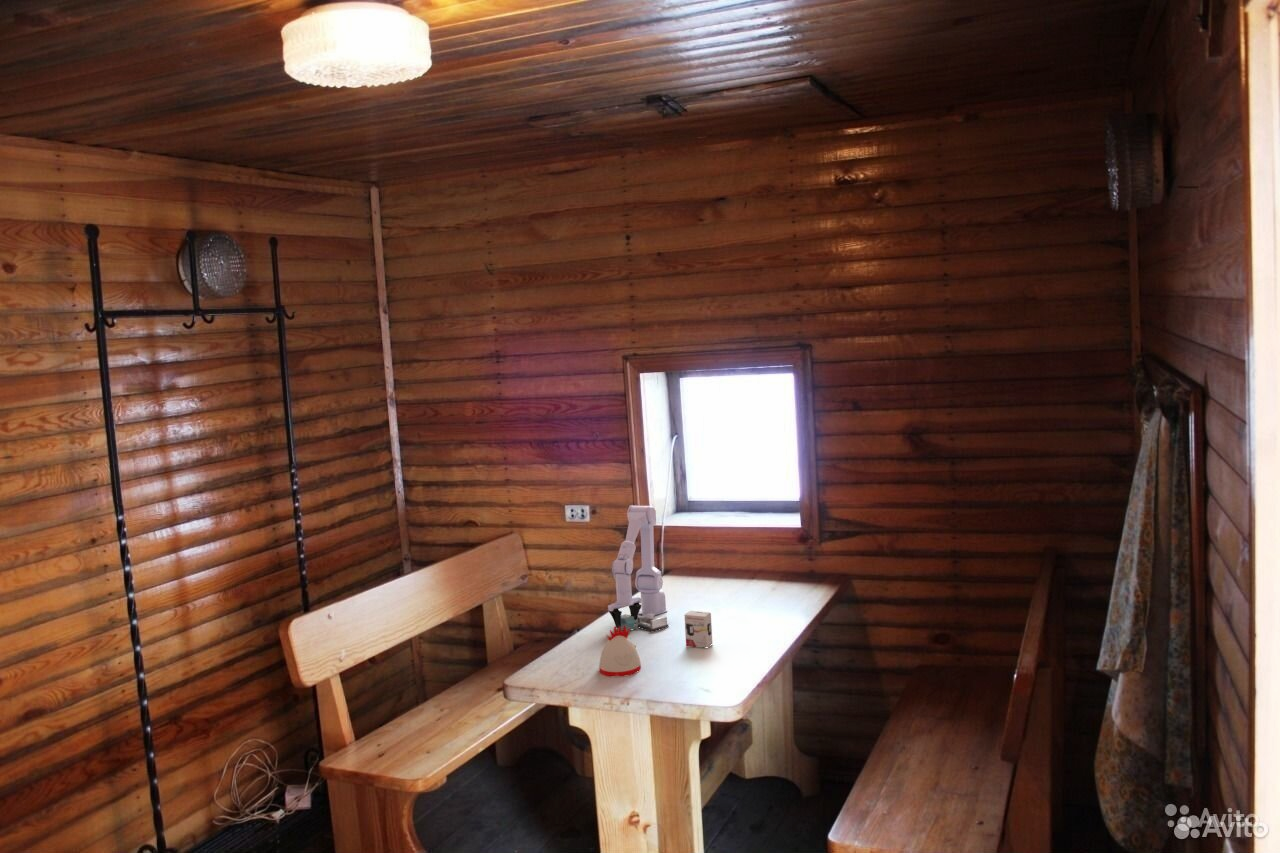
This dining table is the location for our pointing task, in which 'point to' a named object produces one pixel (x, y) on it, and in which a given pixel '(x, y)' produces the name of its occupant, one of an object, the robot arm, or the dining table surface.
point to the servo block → (627, 622)
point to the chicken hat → (619, 655)
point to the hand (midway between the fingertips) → (626, 625)
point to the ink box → (698, 629)
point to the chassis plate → (652, 622)
